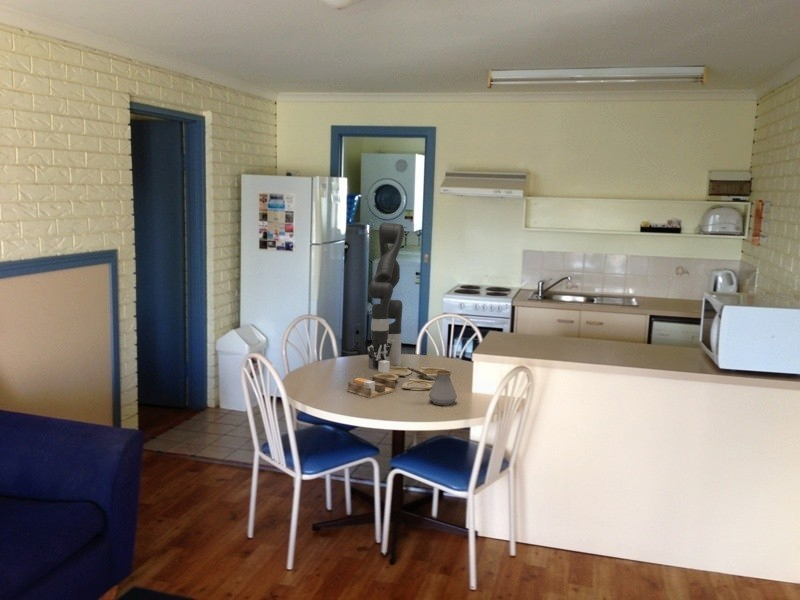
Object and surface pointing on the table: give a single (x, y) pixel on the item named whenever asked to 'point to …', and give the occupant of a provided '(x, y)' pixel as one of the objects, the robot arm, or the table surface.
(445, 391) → the coffee pot
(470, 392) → the table surface
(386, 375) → the tableware set
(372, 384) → the orange white rectangular block
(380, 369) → the two-tone square pillar
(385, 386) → the brown wooden divided tray
